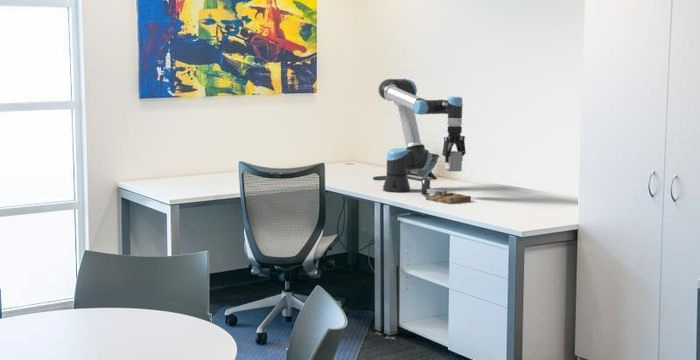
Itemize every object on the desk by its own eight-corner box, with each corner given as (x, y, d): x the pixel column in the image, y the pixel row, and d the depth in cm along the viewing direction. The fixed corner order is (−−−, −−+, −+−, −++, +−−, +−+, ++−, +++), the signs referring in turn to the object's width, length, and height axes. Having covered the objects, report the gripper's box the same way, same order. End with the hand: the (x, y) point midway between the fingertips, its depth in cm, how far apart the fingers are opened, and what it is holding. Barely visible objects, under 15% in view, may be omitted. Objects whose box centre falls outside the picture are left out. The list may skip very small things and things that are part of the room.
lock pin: (419, 193, 485) (420, 179, 484) (425, 193, 488) (426, 178, 487) (439, 197, 473) (440, 182, 472) (445, 197, 475) (446, 182, 474)
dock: (426, 199, 471) (426, 192, 471) (447, 197, 481) (448, 189, 481) (448, 204, 458) (448, 196, 458) (470, 201, 468) (470, 193, 467)
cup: (442, 170, 481) (443, 151, 479) (453, 169, 486) (453, 151, 485) (454, 171, 474) (454, 153, 473) (464, 170, 479) (465, 152, 478)
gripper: (446, 126, 467) (445, 170, 470) (473, 125, 481) (472, 167, 484) (435, 126, 473) (434, 168, 476) (463, 124, 487) (461, 166, 489)
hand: (453, 168), depth 480 cm, fingers closed on cup, 8 cm apart
